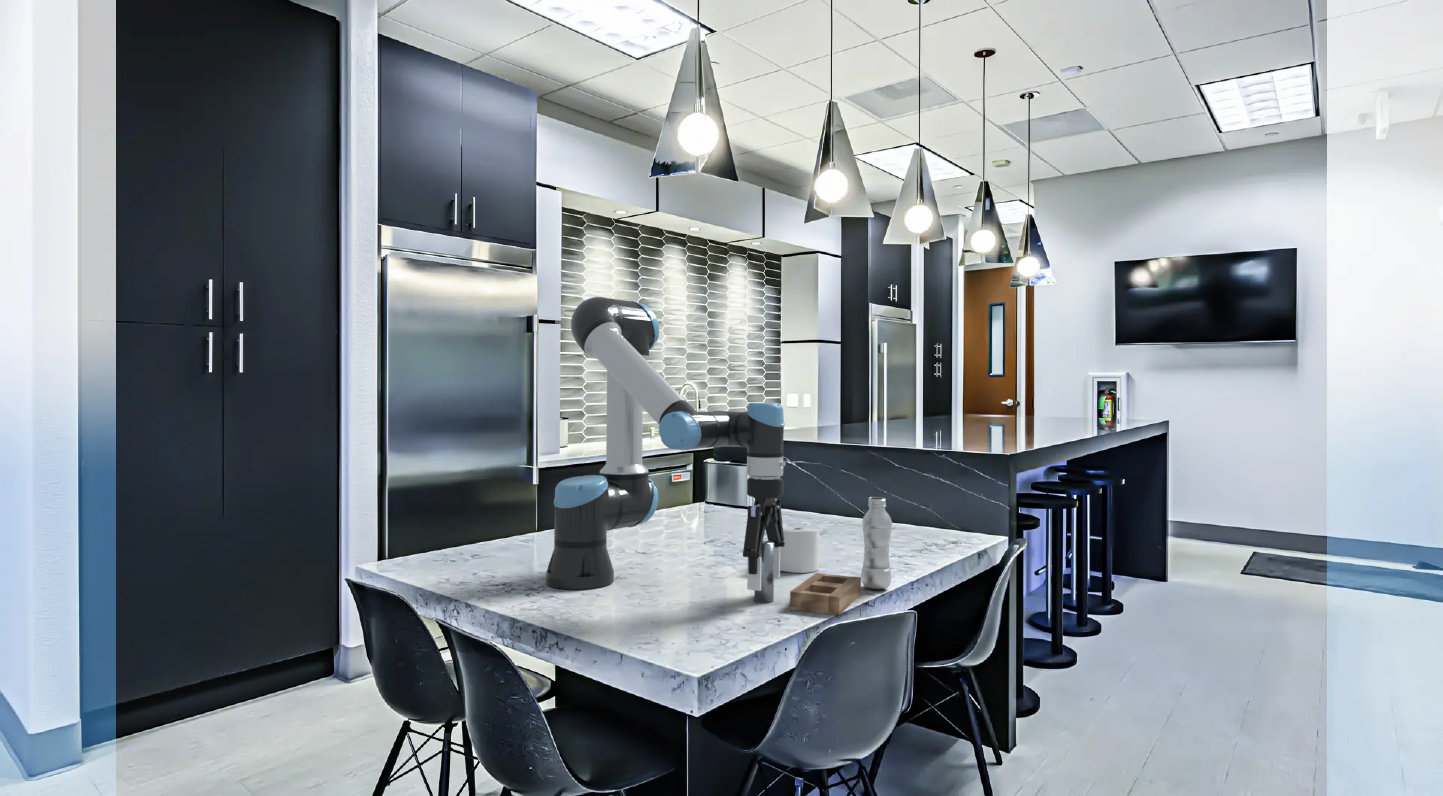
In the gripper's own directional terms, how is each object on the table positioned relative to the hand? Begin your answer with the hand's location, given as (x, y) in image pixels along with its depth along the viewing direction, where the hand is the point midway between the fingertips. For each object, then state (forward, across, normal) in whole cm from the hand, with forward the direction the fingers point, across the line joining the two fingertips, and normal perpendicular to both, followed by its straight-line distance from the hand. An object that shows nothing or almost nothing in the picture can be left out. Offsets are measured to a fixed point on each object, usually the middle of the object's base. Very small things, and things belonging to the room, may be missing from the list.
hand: (764, 583), depth 161 cm
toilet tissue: (+4, +31, +3) cm, 31 cm away
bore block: (+4, +5, -12) cm, 13 cm away
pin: (+4, 0, 0) cm, 4 cm away
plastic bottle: (+4, +20, -19) cm, 28 cm away
